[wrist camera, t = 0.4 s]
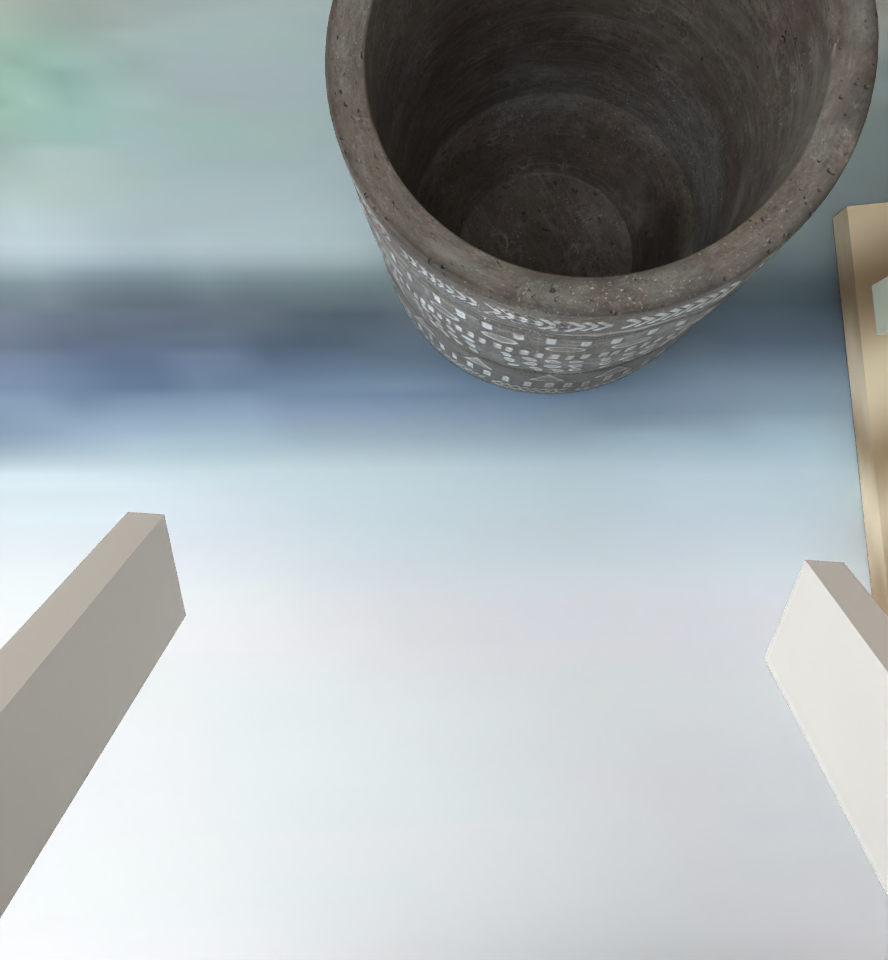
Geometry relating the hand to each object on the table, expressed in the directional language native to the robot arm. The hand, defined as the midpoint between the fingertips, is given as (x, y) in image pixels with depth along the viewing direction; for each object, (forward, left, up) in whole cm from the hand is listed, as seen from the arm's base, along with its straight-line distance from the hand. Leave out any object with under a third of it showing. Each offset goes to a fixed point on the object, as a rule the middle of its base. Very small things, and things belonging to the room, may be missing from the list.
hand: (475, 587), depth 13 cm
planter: (+13, -4, -18) cm, 22 cm away
